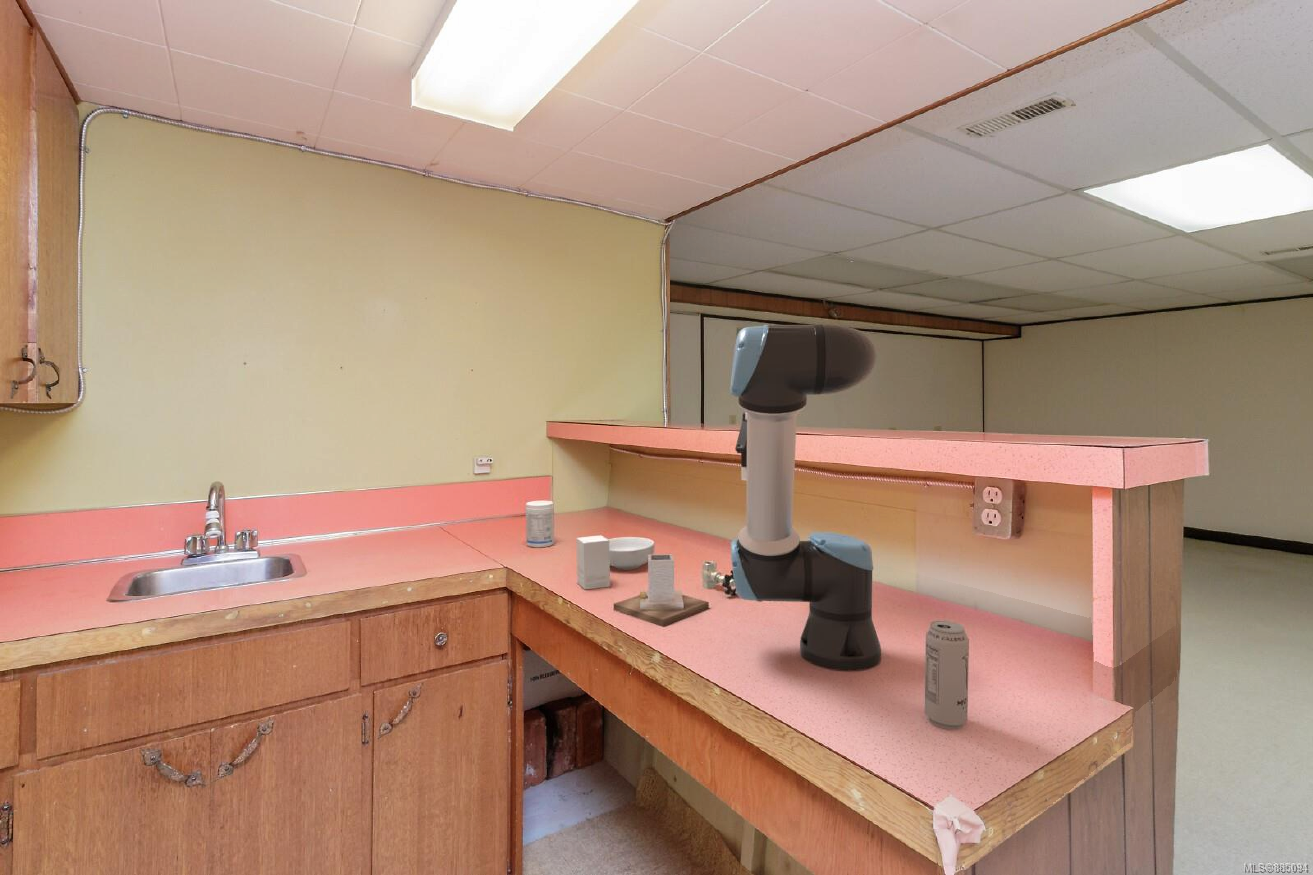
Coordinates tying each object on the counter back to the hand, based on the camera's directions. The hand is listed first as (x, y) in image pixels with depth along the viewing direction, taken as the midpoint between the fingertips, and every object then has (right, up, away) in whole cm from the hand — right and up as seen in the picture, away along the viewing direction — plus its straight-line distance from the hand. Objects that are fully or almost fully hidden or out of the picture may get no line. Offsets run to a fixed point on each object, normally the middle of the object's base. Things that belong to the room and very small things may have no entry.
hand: (761, 477), depth 156 cm
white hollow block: (-25, -29, -6) cm, 39 cm away
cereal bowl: (-35, -29, +32) cm, 56 cm away
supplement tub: (-66, -27, +61) cm, 94 cm away
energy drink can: (+19, -34, -59) cm, 71 cm away
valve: (-10, -30, +8) cm, 33 cm away
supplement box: (-43, -30, +14) cm, 54 cm away
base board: (-25, -31, -6) cm, 40 cm away
